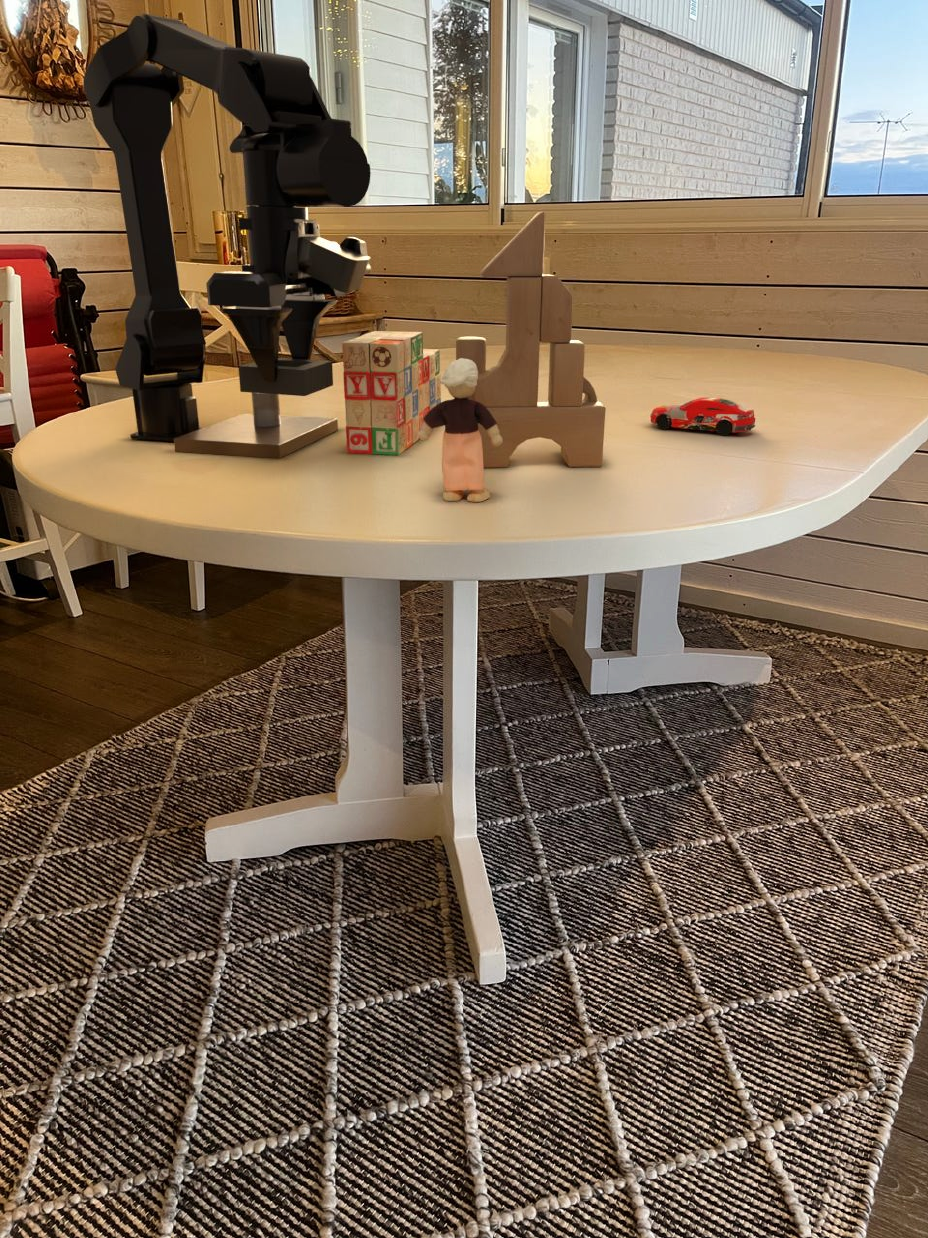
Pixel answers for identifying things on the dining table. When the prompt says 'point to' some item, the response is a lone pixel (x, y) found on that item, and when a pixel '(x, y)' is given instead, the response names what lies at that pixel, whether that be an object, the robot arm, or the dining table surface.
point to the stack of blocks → (388, 390)
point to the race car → (705, 416)
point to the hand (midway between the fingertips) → (286, 376)
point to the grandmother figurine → (462, 433)
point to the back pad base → (257, 432)
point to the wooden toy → (535, 362)
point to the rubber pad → (288, 377)
